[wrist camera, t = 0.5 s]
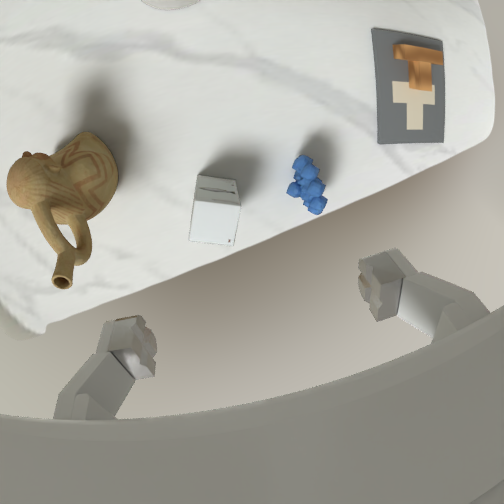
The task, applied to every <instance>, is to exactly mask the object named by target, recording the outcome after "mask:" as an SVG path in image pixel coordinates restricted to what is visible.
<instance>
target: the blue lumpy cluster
mask: <svg viewBox="0 0 504 504" xmlns="http://www.w3.org/2000/svg"><path fill="white" fill-rule="evenodd" d="M312 162H313V160H312V159H311V158H309V157H308V156H306V155H300V156H299V157H298V158H296V160H295V161H294V163H293V166H292V168H293V169H295V170H296V172H295V175H294V179H295V180H296V182H292V183H291V184H290V185H289V187H288V189H287V192H286V193H287V194H289V195H290V196H292V197H294V198H296V197H301V198H302V200H304V203H303V205H305V206H306V207H308V211H310V212H311V213H313V214H315V215H319V214H321V213H322V211H323V209H324V208H325V206H326V203H327V200H328V199H326V198H325V197H324V196H322V194H323V192H324V189H325V186H326V185H325V184H323V183H322V180H320V179H319V178H317V176H318V173H319V170H320V169H319V168H317V167H316V166H315V165H312Z"/></svg>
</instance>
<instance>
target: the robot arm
mask: <svg viewBox="0 0 504 504" xmlns="http://www.w3.org/2000/svg"><path fill="white" fill-rule="evenodd" d="M141 1H143V2H144V3H145V4H147V5H149V6H151V7H154V8H157V9H163V10H174V9H181V8H185V7H188V6H191V5H193V4H195V3H197V2H199V1H200V0H141ZM358 268H359V269H360V271H361V274H360V276H359V277H358V283H359V289H360V293H361V295H362V297H363V299H364V301H366V302H368V303H370V311H371V313H372V314H373V316H374V318H375V320H376V321H377V322H378V321H381V320H384V319H387V318H390V317H393V316H396V315H397V316H398V317H399V318H401V319H402V320H404V321H406V322H407V323H409V324H410V325H412V326H414V327H415V328H417V329H418V330H420V331H422V332H423V333H425V334H427V335H428V336H430V337H431V338H433V340H432V343H431V344H430V345H427V346H425V347H423V348H420V349H418V350H416V351H414V352H411V353H409V354H406V355H404V356H402V357H399V358H397V359H394V360H392V361H389V362H387V363H384V364H381V365H379V366H376V367H373V368H371V369H368V370H365V371H362V372H360V373H357V374H354V375H351V376H348V377H345V378H342V379H339V380H336V381H332V382H329V383H326V384H323V385H319V386H316V387H312V388H309V389H305V390H302V391H298V392H294V393H290V394H286V395H283V396H278V397H275V398H270V399H266V400H261V401H256V402H252V403H247V404H242V405H237V406H232V407H226V408H220V409H214V410H208V411H201V412H194V413H188V414H179V415H171V416H160V417H149V418H136V419H117V418H116V417H115V415H116V413H117V411H118V410H119V408H120V406H121V405H122V403H123V401H124V400H125V398H126V396H127V395H128V393H129V391H130V389H131V388H132V386H133V384H134V383H135V380H137V379H143V378H149V377H154V376H155V365H156V362H155V361H154V359H153V357H154V356H155V354H156V353H157V344H156V339H155V336H154V334H153V332H152V331H151V329H149V328H147V327H145V323H146V322H145V320H144V319H143V317H142V316H140V315H136V316H131V317H126V318H121V319H116V320H111V321H106V322H105V323H104V325H103V328H102V332H101V335H100V339H99V343H98V346H97V350H96V354H92V355H91V357H90V358H89V359H88V360H87V361H86V362H85V364H84V365H83V366H82V367H81V368H80V369H79V371H78V372H77V373H76V374H75V375H74V377H73V378H72V379H71V380H70V381H69V382H68V384H67V385H66V386H65V387H64V388H63V390H62V391H61V392H60V394H59V396H58V400H57V404H56V408H55V413H54V417H53V419H41V418H28V417H19V416H10V415H3V414H0V504H504V306H502V307H500V308H499V309H497V310H495V311H493V312H492V313H490V312H489V310H488V309H487V308H486V307H485V306H484V304H483V303H482V302H481V301H480V299H479V298H478V297H477V296H476V295H475V294H474V292H472V291H469V290H467V289H464V288H462V287H459V286H457V285H454V284H452V283H449V282H447V281H444V280H442V279H439V278H437V277H434V276H432V275H429V274H426V273H424V272H420V273H418V271H417V270H416V269H415V268H414V267H413V265H412V264H411V263H410V262H409V261H408V260H407V259H406V257H405V256H404V255H403V254H402V253H401V252H400V251H399V250H398V249H397V248H393V249H389V250H386V251H384V252H381V253H378V254H374V255H371V256H368V257H364V258H361V259H360V260H359V266H358Z"/></svg>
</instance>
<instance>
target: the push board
mask: <svg viewBox="0 0 504 504" xmlns="http://www.w3.org/2000/svg"><path fill="white" fill-rule="evenodd" d="M371 32H372V41H373V51H374V61H375V75H376V91H377V122H378V144H397V143H444V124H445V74H444V56H443V65H436V64H431V74H432V91H422V90H417V89H411V88H409V72H408V60H400V59H394V55H393V45H398V44H405V45H412V46H417V47H423V48H428V49H433V50H437V51H442V54H443V44H442V41H439V40H435V39H431V38H426V37H422V36H417V35H412V34H406V33H400V32H394V31H388V30H380V29H371Z"/></svg>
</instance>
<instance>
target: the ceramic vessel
mask: <svg viewBox="0 0 504 504" xmlns="http://www.w3.org/2000/svg"><path fill="white" fill-rule="evenodd" d="M117 183H118V170H117V166H116V163H115V160H114V158H113V156H112V154H111V152H110V150H109V149H108V148H107V146H106V145H105V144H104V143H103V142H102V141H101V140H100V139H99V138H98V137H97V136H95V135H94V134H92V133H90V132H82V133H80V134H78V135H77V136H76V138H75V139H73V140H72V141H71V142H70V143H69V144H68V145H66V146H65V147H64V148H63V149H61V150H59V151H58V152H56V153H55V154H53V155H50V156H48V155H46V154H43V153H35V154H33V155H32V154H31V153H30V152H28V151H26V152H24V153H23V155H22V158H20V159H18V160H17V161H16V162H15V163H14V164H13V165H12V167H11V168H10V170H9V173H8V176H7V191H8V194H9V197H10V198H11V200H12V201H13V202H14V203H15V204H16V205H17V206H19V207H21V208H26V209H31V211H32V213H33V215H34V218H35V220H36V222H37V224H38V226H39V228H40V230H41V232H42V234H43V235H44V237H45V239H46V240H47V242H48V243H49V244H50V246H51V247H52V248H53V249H54V251H55V252H56V253H57V254H58V258H57V263H56V267H55V271H54V274H53V276H52V283H53V285H54V286H55V287H57V288H60V289H68V288H70V287H71V286H72V280H73V269H74V265H75V266H79V265H82V264H84V263H85V262H87V260H88V259H89V258H90V256H91V252H92V239H91V234H90V230H89V227H88V224H87V220H89V219H91V218H93V217H95V216H96V215H97V214H99V213H100V212H101V211H102V210H103V209H104V208H105V207H106V206H107V205H108V203H109V202H110V201H111V199H112V197H113V195H114V193H115V191H116V187H117ZM57 224H68V225H69V226H70V228H71V230H72V232H73V234H74V236H75V240H76V244H77V248H74V247H73V246H72V245H71V244H70V243H69V242H68V241H67V240H66V239H65V237H64V236H63V235H62V233H61V232H60V230H59V228H58V226H57Z"/></svg>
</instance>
